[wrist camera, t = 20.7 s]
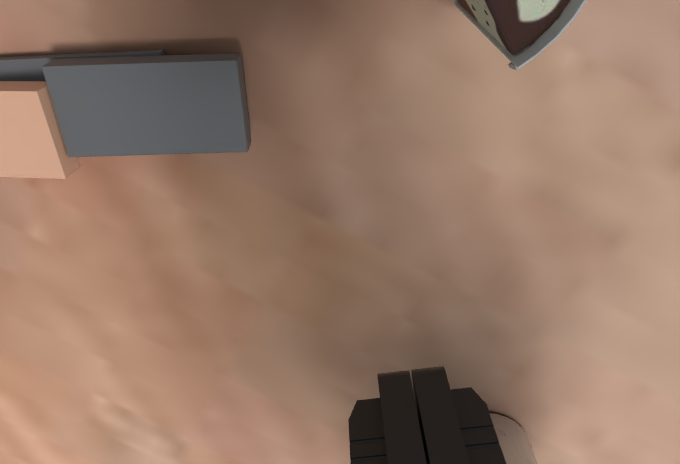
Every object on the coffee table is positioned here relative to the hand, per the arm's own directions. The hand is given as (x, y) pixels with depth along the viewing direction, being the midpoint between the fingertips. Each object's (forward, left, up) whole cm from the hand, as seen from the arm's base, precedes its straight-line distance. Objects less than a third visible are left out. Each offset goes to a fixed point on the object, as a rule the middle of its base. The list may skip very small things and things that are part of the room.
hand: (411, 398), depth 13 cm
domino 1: (+1, +6, -21) cm, 22 cm away
